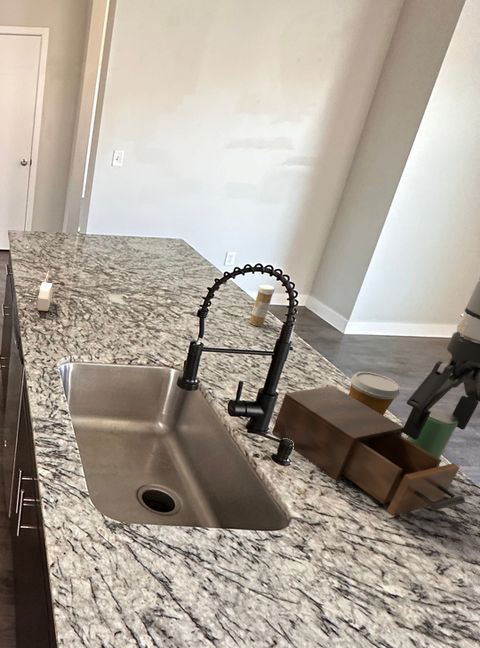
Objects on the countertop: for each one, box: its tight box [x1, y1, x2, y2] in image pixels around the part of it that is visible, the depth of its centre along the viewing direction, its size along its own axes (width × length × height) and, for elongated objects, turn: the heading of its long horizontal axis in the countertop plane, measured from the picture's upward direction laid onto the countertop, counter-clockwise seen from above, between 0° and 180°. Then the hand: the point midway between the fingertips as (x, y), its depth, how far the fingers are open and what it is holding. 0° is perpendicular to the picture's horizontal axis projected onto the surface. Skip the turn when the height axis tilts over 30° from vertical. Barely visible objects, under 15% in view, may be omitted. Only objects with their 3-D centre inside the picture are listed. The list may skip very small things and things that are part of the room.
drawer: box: [342, 433, 466, 517], centre depth 105 cm, size 20×13×9 cm, turn 17°
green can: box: [406, 407, 458, 460], centre depth 111 cm, size 6×6×14 cm
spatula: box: [36, 270, 53, 312], centre depth 195 cm, size 38×8×4 cm
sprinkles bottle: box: [248, 284, 275, 327], centre depth 178 cm, size 5×5×13 cm
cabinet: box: [271, 385, 404, 482], centre depth 117 cm, size 17×14×11 cm
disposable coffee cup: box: [348, 371, 401, 416], centre depth 127 cm, size 10×10×12 cm
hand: (433, 430), depth 110 cm, fingers open, 13 cm apart
